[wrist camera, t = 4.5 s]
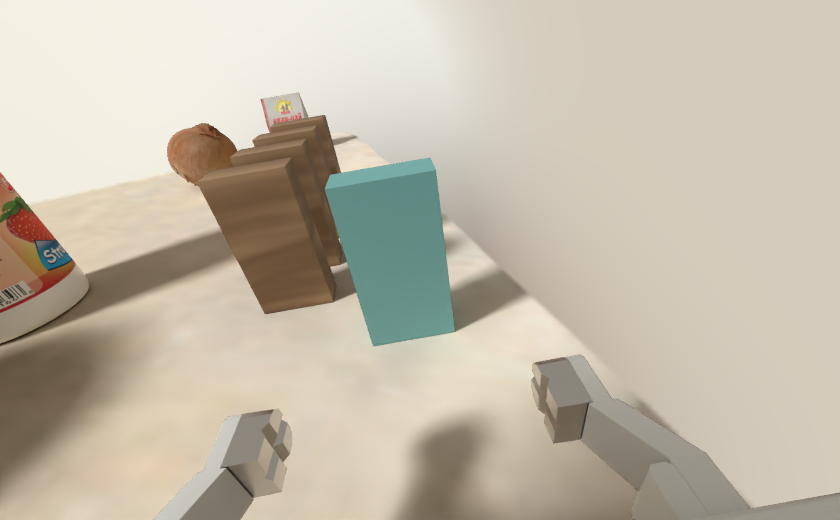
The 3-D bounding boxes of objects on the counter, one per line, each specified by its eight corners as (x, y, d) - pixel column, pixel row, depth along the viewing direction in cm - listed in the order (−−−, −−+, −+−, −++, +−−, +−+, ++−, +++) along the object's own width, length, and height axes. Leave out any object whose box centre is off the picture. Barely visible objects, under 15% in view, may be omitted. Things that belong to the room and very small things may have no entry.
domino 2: (345, 236, 33) (313, 129, 28) (294, 245, 33) (252, 140, 28) (347, 227, 35) (317, 124, 29) (298, 235, 35) (259, 134, 29)
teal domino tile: (455, 331, 21) (435, 170, 15) (373, 346, 21) (324, 189, 15) (449, 309, 22) (430, 157, 17) (373, 323, 22) (330, 174, 17)
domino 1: (349, 215, 37) (322, 118, 32) (304, 222, 37) (269, 127, 32) (350, 207, 39) (325, 114, 34) (307, 215, 39) (274, 123, 34)
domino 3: (340, 264, 29) (301, 145, 24) (281, 274, 29) (229, 157, 24) (342, 252, 31) (306, 138, 25) (287, 262, 31) (239, 149, 25)
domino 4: (333, 302, 25) (284, 166, 19) (264, 314, 25) (196, 181, 19) (336, 285, 26) (291, 157, 21) (272, 296, 26) (211, 170, 21)
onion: (249, 194, 58) (254, 135, 54) (194, 202, 50) (195, 134, 46) (210, 172, 61) (213, 114, 56) (153, 177, 53) (150, 110, 48)
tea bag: (283, 152, 67) (263, 97, 62) (317, 146, 68) (300, 91, 62) (279, 158, 64) (258, 100, 59) (314, 151, 64) (297, 93, 59)
